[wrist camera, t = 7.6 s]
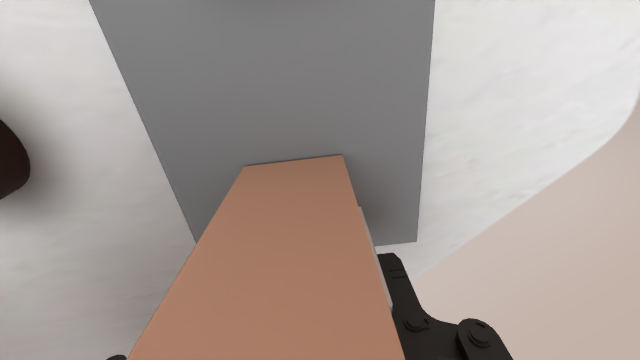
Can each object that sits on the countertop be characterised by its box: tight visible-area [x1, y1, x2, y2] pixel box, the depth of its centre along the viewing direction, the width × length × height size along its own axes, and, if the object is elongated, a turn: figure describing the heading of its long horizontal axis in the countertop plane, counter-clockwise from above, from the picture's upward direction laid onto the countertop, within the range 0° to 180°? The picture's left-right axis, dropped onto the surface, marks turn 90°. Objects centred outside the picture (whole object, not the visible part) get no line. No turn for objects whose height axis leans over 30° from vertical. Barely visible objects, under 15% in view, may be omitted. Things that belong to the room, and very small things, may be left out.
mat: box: [89, 0, 435, 246], centre depth 12 cm, size 16×30×1 cm, turn 7°
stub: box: [126, 155, 405, 360], centre depth 11 cm, size 6×7×12 cm
